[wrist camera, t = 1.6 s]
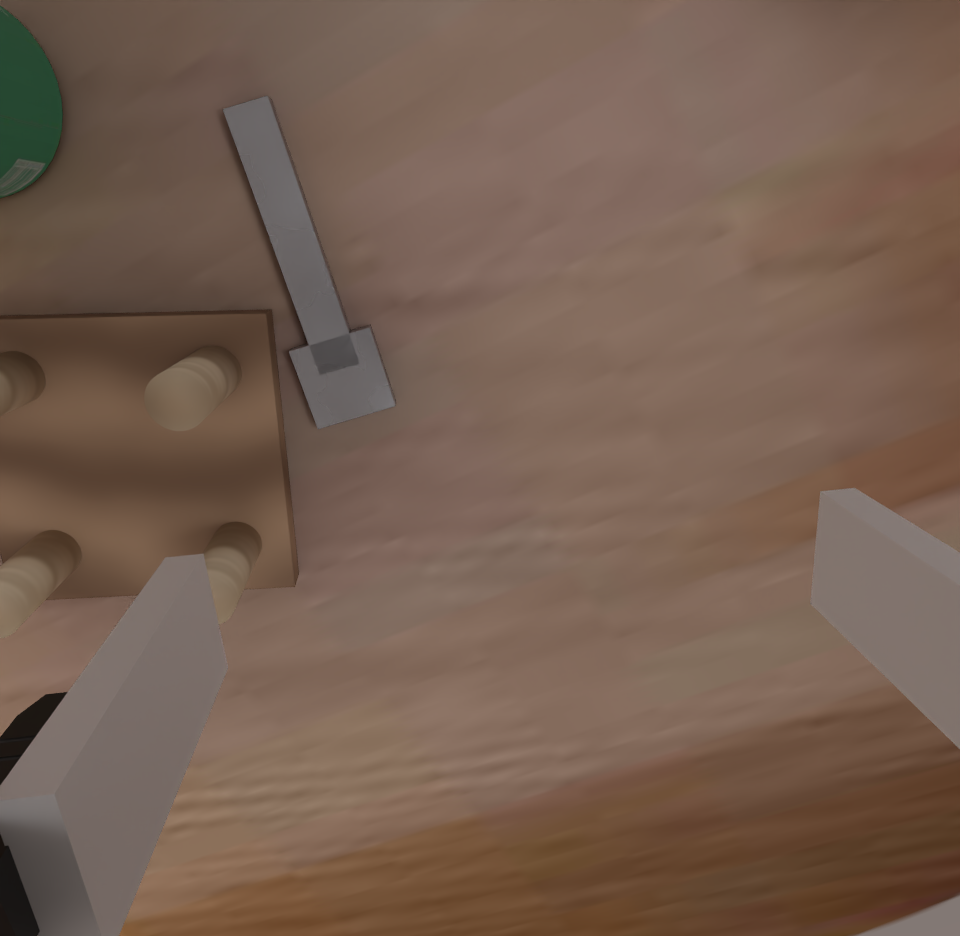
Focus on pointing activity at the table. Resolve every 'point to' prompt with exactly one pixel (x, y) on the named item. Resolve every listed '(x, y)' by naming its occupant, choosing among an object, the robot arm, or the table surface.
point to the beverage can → (25, 107)
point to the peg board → (140, 455)
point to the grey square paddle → (308, 278)
